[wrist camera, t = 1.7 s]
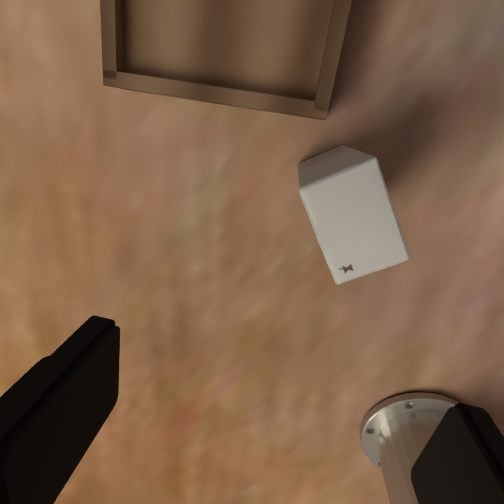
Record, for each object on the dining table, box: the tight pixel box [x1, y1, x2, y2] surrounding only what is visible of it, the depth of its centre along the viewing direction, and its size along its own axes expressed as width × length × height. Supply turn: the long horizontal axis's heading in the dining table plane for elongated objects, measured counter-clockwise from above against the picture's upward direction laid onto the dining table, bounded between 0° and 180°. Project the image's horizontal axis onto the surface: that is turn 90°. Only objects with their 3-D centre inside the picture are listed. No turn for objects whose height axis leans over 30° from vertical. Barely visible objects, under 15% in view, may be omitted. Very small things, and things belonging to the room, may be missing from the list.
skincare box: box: [297, 145, 410, 284], centre depth 22 cm, size 6×4×12 cm
